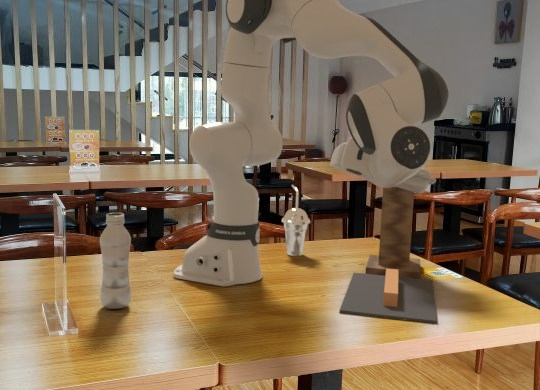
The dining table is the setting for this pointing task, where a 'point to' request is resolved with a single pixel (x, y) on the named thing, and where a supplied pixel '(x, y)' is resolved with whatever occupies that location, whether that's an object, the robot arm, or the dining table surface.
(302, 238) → the cup with straw
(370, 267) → the walnut stand
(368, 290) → the rubber mat
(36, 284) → the dining table surface
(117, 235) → the plastic bottle
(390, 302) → the orange square bar
